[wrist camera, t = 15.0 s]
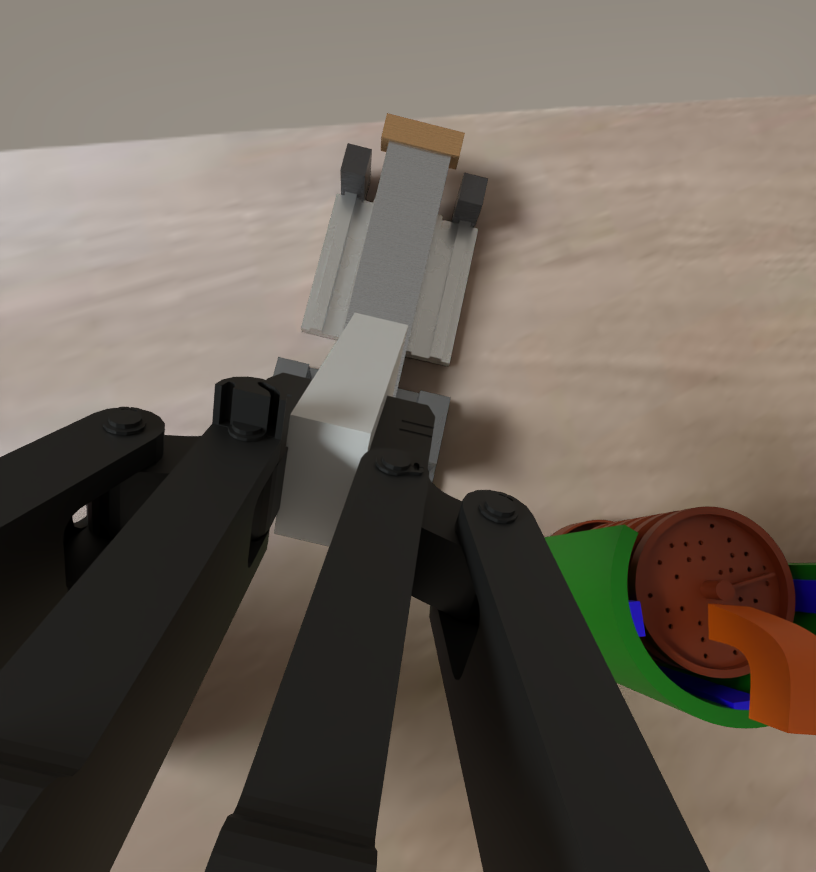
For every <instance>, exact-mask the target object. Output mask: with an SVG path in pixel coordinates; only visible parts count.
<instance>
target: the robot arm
mask: <svg viewBox="0 0 816 872" xmlns="http://www.w3.org/2000/svg"><path fill="white" fill-rule="evenodd" d="M407 329H408V325H405V324H401V323H397V322H393V321H388V320H384V319H380V318H376V317H372V316H367V315H363V314H359V313H354V315H353V316H352V318H351V320H350V321H349V323H348V324H347V326H346V327H345V329H344V331H343V332H342V334H341V335H340V337H339V339H338V340H337V342H336V343H335V345H334V346H333V348H332V350H331V351H330V353H329V354H328V356H327V357H326V359H325V361H324V362H323V364H322V365H321V367H320V368H319V370H318V372H317V373H316V375H315V376H314V378H313V379H309V378H304V377H300V376H296V375H292V374H288V373H283V372H282V373H280V374H278V375H275V376H273V377H270V378H268V379H267V380H264V379H260V378H253V377H232V378H227V379H223V380H221V381H219V382H218V383H216V384H215V394H214V408H213V422H212V425H211V426H210V427H209V428H208V429H207V430H206V432H205V433H204V434H203V435H202V436H172V435H164V432H165V423H164V422H163V421H162V419H161V418H160V417H159V416H157V415H155V414H154V413H152V412H149V411H146V410H142V409H139V408H134V407H131V408H129V407H119V408H111V409H105V410H102V411H99V412H96V413H93V414H91V415H89V416H87V417H85V418H83V419H81V420H78V421H76V422H74V423H72V424H70V425H68V426H66V427H64V428H61V429H59V430H57V431H55V432H53V433H51V434H49V435H46V436H44V437H42V438H40V439H38V440H36V441H34V442H32V443H29V444H27V445H25V446H23V447H21V448H19V449H17V450H15V451H12V452H10V453H8V454H6V455H4V456H2V457H0V872H110V870H111V868H112V866H113V863H114V861H115V859H116V857H117V855H118V853H119V851H120V849H121V847H122V845H123V843H124V841H125V839H126V837H127V835H128V833H129V831H130V829H131V827H132V825H133V822H134V820H135V818H136V816H137V814H138V812H139V810H140V808H141V806H142V804H143V802H144V800H145V798H146V796H147V794H148V792H149V790H150V788H151V786H152V783H153V781H154V779H155V777H156V775H157V773H158V771H159V769H160V767H161V765H162V763H163V761H164V759H165V757H166V755H167V753H168V751H169V749H170V747H171V744H172V742H173V740H174V738H175V736H176V734H177V732H178V730H179V728H180V726H181V724H182V722H183V720H184V718H185V716H186V714H187V712H188V710H189V708H190V706H191V703H192V701H193V699H194V697H195V695H196V693H197V691H198V689H199V687H200V685H201V683H202V681H203V679H204V677H205V675H206V673H207V671H208V669H209V667H210V664H211V662H212V660H213V658H214V656H215V654H216V652H217V650H218V648H219V646H220V644H221V642H222V640H223V638H224V636H225V634H226V632H227V630H228V628H229V626H230V623H231V621H232V619H233V617H234V615H235V613H236V611H237V609H238V607H239V605H240V603H241V601H242V599H243V597H244V595H245V593H246V591H247V589H248V587H249V584H250V582H251V580H252V578H253V576H254V574H255V572H256V570H257V568H258V566H259V564H260V562H261V560H262V558H263V556H264V554H265V552H266V550H267V544H268V537H269V530H270V527H271V525H272V523H273V521H274V519H275V517H276V523H275V531H274V534H278V535H282V536H287V537H291V538H295V539H299V540H304V541H308V542H312V543H316V544H321V545H325V546H329V549H328V552H327V555H326V558H325V561H324V563H323V566H322V569H321V572H320V575H319V577H318V580H317V583H316V586H315V589H314V592H313V594H312V597H311V600H310V603H309V606H308V608H307V611H306V614H305V617H304V620H303V622H302V625H301V628H300V631H299V634H298V637H297V639H296V642H295V645H294V648H293V651H292V653H291V656H290V659H289V662H288V665H287V667H286V670H285V673H284V676H283V679H282V682H281V684H280V687H279V690H278V693H277V696H276V698H275V701H274V704H273V707H272V710H271V712H270V715H269V718H268V721H267V724H266V727H265V729H264V732H263V735H262V738H261V741H260V743H259V746H258V749H257V752H256V755H255V757H254V760H253V763H252V766H251V769H250V772H249V774H248V777H247V780H246V783H245V786H244V788H243V791H242V794H241V797H240V799H239V802H238V804H237V807H236V809H235V811H234V813H233V814H231V815H229V816H228V817H227V819H226V821H225V823H224V825H223V826H222V828H221V831H220V833H219V836H218V838H217V841H216V843H215V846H214V848H213V851H212V853H211V856H210V859H209V862H208V864H207V867H206V870H205V872H376V868H377V850H376V848H375V836H376V828H377V821H378V814H379V808H380V801H381V794H382V788H383V781H384V774H385V768H386V761H387V754H388V747H389V741H390V734H391V727H392V721H393V714H394V707H395V701H396V694H397V687H398V681H399V674H400V667H401V661H402V654H403V647H404V641H405V634H406V627H407V621H408V614H409V607H410V600H411V596H413V597H415V598H417V599H419V600H421V601H423V602H425V603H427V604H429V605H431V606H430V622H431V627H432V631H433V636H434V641H435V645H436V650H437V655H438V660H439V664H440V669H441V674H442V678H443V683H444V688H445V693H446V697H447V702H448V707H449V711H450V716H451V721H452V726H453V730H454V735H455V740H456V744H457V749H458V754H459V759H460V763H461V768H462V773H463V777H464V782H465V787H466V792H467V796H468V801H469V806H470V811H471V815H472V820H473V825H474V829H475V834H476V839H477V844H478V848H479V853H480V858H481V862H482V867H483V872H710V871H709V869H708V867H707V865H706V863H705V861H704V859H703V857H702V855H701V853H700V851H699V849H698V847H697V845H696V843H695V841H694V839H693V837H692V835H691V833H690V831H689V829H688V827H687V825H686V823H685V821H684V819H683V817H682V815H681V813H680V811H679V809H678V807H677V805H676V803H675V801H674V798H673V796H672V794H671V792H670V790H669V788H668V786H667V784H666V782H665V780H664V778H663V776H662V774H661V772H660V770H659V768H658V766H657V764H656V762H655V760H654V758H653V756H652V754H651V752H650V750H649V748H648V746H647V744H646V742H645V740H644V738H643V736H642V734H641V732H640V730H639V728H638V726H637V724H636V722H635V720H634V718H633V716H632V714H631V712H630V710H629V708H628V706H627V704H626V702H625V700H624V698H623V696H622V694H621V691H620V689H619V687H618V685H617V683H616V681H615V679H614V677H613V675H612V673H611V671H610V669H609V667H608V665H607V663H606V661H605V659H604V657H603V655H602V653H601V651H600V649H599V647H598V645H597V643H596V641H595V639H594V637H593V635H592V633H591V631H590V629H589V627H588V625H587V623H586V621H585V619H584V617H583V615H582V613H581V611H580V609H579V607H578V605H577V603H576V601H575V599H574V597H573V595H572V593H571V591H570V589H569V587H568V585H567V582H566V580H565V578H564V576H563V574H562V572H561V570H560V568H559V566H558V564H557V562H556V560H555V558H554V556H553V554H552V552H551V550H550V548H549V546H548V544H547V542H546V540H545V538H544V536H543V534H542V532H541V530H540V528H539V526H538V524H537V522H536V520H535V518H534V516H533V514H532V513H531V512H530V510H529V509H528V508H527V506H526V505H524V504H523V503H521V502H520V501H519V500H517V499H516V498H514V497H512V496H510V495H507V494H505V493H502V492H496V491H492V490H476V491H474V492H471V493H468V494H467V495H466V496H465V498H464V499H463V501H460V500H458V499H455V498H453V497H451V496H449V495H448V494H446V493H444V492H442V491H441V490H440V489H438V488H437V487H436V486H435V485H434V484H433V483H432V482H431V480H430V478H429V470H428V462H429V456H430V449H431V443H432V436H433V429H434V423H435V415H434V414H433V412H432V410H431V409H430V407H429V406H428V405H425V404H421V403H417V402H412V401H408V400H404V399H400V398H396V397H393V393H394V388H395V384H396V379H397V375H398V370H399V366H400V361H401V357H402V352H403V347H404V343H405V338H406V334H407ZM85 505H86V507H87V516H86V517H85V518H83V519H82V520H80V521H79V522H76V523H73V519H72V515H74V514H75V513H76V512H77V511H78V510H79V509H80V508H82V507H83V506H85ZM276 515H277V516H276Z"/></svg>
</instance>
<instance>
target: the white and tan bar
mask: <svg viewBox="0 0 816 872" xmlns="http://www.w3.org/2000/svg"><path fill="white" fill-rule="evenodd" d="M464 134H465V133H463V132H459V131H455V130H451V129H447V128H443V127H439V126H435V125H431V124H427V123H424V122H420V121H416V120H412V119H408V118H404V117H400V116H396V115H392V114H388V113H387V116H386V120H385V124H384V128H383V133H382V137H381V151H384V152H386V156H385V160H384V164H383V168H382V172H381V177H380V181H379V185H378V189H377V193H376V197H375V201H374V206H373V210H372V214H371V218H370V222H369V226H368V230H367V235H366V239H365V243H364V247H363V251H362V255H361V259H360V264H359V268H358V272H357V276H356V280H355V284H354V288H353V293H352V297H351V301H350V305H349V309H348V313H347V317H346V322H345V326H344V329H345V327H346V326H347V324H348V323H349V321H350V320H351V318H352V316H353V315H354V313H359V314H363V315H367V316H372V317H376V318H380V319H384V320H388V321H393V322H397V323H401V324H405V325H408V329H407V334H406V338H405V343H404V347H403V352H402V357H401V361H400V366H399V370H398V375H397V379H396V384H395V388H394V393H393V397H396V393H397V389H398V385H399V380H400V376H401V372H402V367H403V363H404V359H405V354H406V350H407V346H408V341H409V337H410V333H411V328H412V324H413V320H414V315H415V311H416V307H417V302H418V298H419V294H420V289H421V285H422V281H423V276H424V272H425V268H426V263H427V259H428V255H429V250H430V246H431V242H432V237H433V233H434V228H435V224H436V220H437V215H438V211H439V207H440V202H441V198H442V194H443V189H444V185H445V181H446V176H447V172H448V168H452V169H456V167H457V163H458V160H459V156H460V151H461V147H462V143H463V138H464ZM343 331H344V330H343Z"/></svg>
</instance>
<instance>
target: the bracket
mask: <svg viewBox="0 0 816 872" xmlns="http://www.w3.org/2000/svg"><path fill="white" fill-rule="evenodd" d="M371 156H372V149H368V148H364V147H361V146H357V145H353V144H349V143H348V144H347V148H346V152H345V155H344V159H343V163H342V167H341V195H340V194H337V195H336V199H335V203H334V207H333V210H332V214H331V218H330V221H329V225H328V229H327V233H326V236H325V240H324V244H323V248H322V251H321V255H320V259H319V262H318V266H317V270H316V274H315V277H314V281H313V285H312V289H311V292H310V296H309V300H308V303H307V307H306V311H305V315H304V318H303V322H302V326H301V331H302V332H305V333H309V334H313V335H317V336H322V337H326V338H330V339H334V340H338V339H339V337H340V335H341V334H342V332H343V330H344V326H345V322H346V317H347V313H348V309H349V305H350V301H351V297H352V293H353V288H354V284H355V280H356V276H357V272H358V268H359V264H360V259H361V255H362V251H363V247H364V243H365V239H366V235H367V230H368V226H369V222H370V218H371V214H372V210H373V206H374V202H369V201H365V199H366V196H367V192H368V188H369V184H370V176H371ZM487 181H488V178H484V177H480V176H476V175H472V174H468V173H464V176H463V179H462V182H461V186H460V189H459V193H458V196H457V199H456V203H455V207H454V212H453V216H452V221H451V222H449V221H445V220H442V217H443V216H442V215H437V220H436V224H435V228H434V233H433V237H432V242H431V246H430V250H429V255H428V259H427V263H426V268H425V272H424V276H423V281H422V285H421V289H420V294H419V298H418V302H417V307H416V311H415V315H414V320H413V324H412V328H411V333H410V337H409V341H408V346H407V350H406V354H405V356H406V357H410V358H414V359H418V360H423V361H427V362H431V363H435V364H440V365H444V366H448V365H449V363H450V359H451V354H452V350H453V345H454V340H455V335H456V331H457V326H458V321H459V317H460V312H461V307H462V303H463V298H464V293H465V289H466V284H467V279H468V274H469V270H470V265H471V260H472V256H473V251H474V246H475V242H476V237H477V232H478V229H477V228H474V226H475V224H476V221H477V218H478V216H479V213H480V210H481V208H482V205H483V200H484V195H485V191H486V186H487ZM374 201H375V199H374ZM282 372H283V373H288V374H292V375H296V376H300V377H304V378H309V379H313V378H314V376H315V375H316V373H317V372H318V369H314V368H310V366H309V364H306V363H302V362H298V361H293V360H289V359H285V358H281V357H278V360H277V364H276V367H275V371H274V375H273V376H275V375H278V374H280V373H282ZM396 398H400V399H404V400H408V401H412V402H417V403H421V404H425V405H428V406H429V407H430V409H431V410H432V412H433V414H434V415H435V423H434V429H433V436H432V443H431V449H430V456H429V462H428V470H429V478H430V480H431V482H433V477H434V472H435V468H436V464H437V460H438V455H439V450H440V445H441V441H442V436H443V431H444V426H445V422H446V417H447V412H448V407H449V403H450V398H451V397H446V396H442V395H438V394H434V393H429V392H425V391H421V390H420V393H416V392H411V391H407V390H403V389H399V388H398V389H397V393H396Z"/></svg>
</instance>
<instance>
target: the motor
mask: <svg viewBox="0 0 816 872" xmlns="http://www.w3.org/2000/svg"><path fill="white" fill-rule="evenodd" d="M544 538H545V540H546V542H547V544H548V546H549V548H550V550H551V552H552V554H553V556H554V558H555V560H556V562H557V564H558V566H559V568H560V570H561V572H562V574H563V576H564V578H565V580H566V582H567V585H568V587H569V589H570V591H571V593H572V595H573V597H574V599H575V601H576V603H577V605H578V607H579V609H580V611H581V613H582V615H583V617H584V619H585V621H586V623H587V625H588V627H589V629H590V631H591V633H592V635H593V637H594V639H595V641H596V643H597V645H598V647H599V649H600V651H601V653H602V655H603V657H604V659H605V661H606V663H607V665H608V667H609V669H610V671H611V673H612V675H613V677H614V679H615V681H616V683H618V684H621V685H623V686H625V687H627V688H630V689H632V690H634V691H637V692H639V693H641V694H644V695H646V696H648V697H651V698H653V699H655V700H658V701H660V702H662V703H665V704H667V705H669V706H671V707H674V708H676V709H678V710H681V711H683V712H685V713H688V714H690V715H692V716H695V717H697V718H699V719H702V720H704V721H707V722H710V723H713V724H717V725H721V726H726V727H733V728H760V727H766V726H771V727H773V728H776V729H779V730H781V731H784V732H787V733H794V734H808V735H816V563H787V561H786V559H785V557H784V555H783V553H782V552H781V550H780V548H779V547H778V545H777V544H776V543H775V541H774V540H773V539H772V538H771V537H770V535H769V534H768V533H767V532H766V531H765V530H764V529H762V528H761V527H760V526H759V525H758V524H756V523H755V522H753V521H752V520H750V519H749V518H747V517H745V516H743V515H741V514H739V513H737V512H734V511H731V510H728V509H724V508H718V507H696V508H691V509H685V510H681V511H674V512H668V513H663V514H657V515H651V516H646V517H640V518H634V519H629V520H623V521H618V522H613V521H607V520H592V521H586V522H581V523H576V524H572V525H569V526H566V527H564V528H562V529H560V530H558V531H557V532H555V533H554V534H553V535H551V536H550V537H544Z"/></svg>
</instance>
